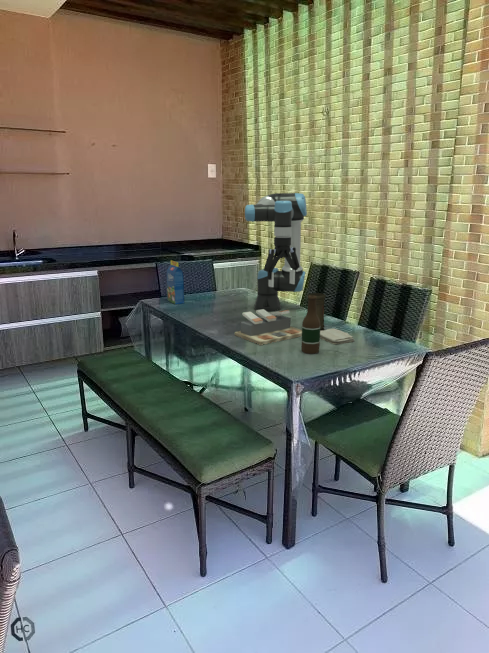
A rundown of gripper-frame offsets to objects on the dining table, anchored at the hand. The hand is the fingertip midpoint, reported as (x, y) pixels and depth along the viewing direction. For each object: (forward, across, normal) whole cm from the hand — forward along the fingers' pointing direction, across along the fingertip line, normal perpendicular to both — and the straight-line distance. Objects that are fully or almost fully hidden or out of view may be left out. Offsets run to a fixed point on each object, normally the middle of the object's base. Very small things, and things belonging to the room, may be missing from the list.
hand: (281, 285), depth 225 cm
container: (+25, -20, +2) cm, 32 cm away
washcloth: (+25, -18, +16) cm, 35 cm away
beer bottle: (+25, +4, +24) cm, 35 cm away
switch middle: (+17, +2, -9) cm, 20 cm away
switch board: (+24, +2, -5) cm, 25 cm away
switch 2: (+17, -6, -9) cm, 20 cm away
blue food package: (+24, +4, -95) cm, 98 cm away
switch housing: (+23, +2, -9) cm, 25 cm away
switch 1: (+17, +10, -9) cm, 22 cm away
